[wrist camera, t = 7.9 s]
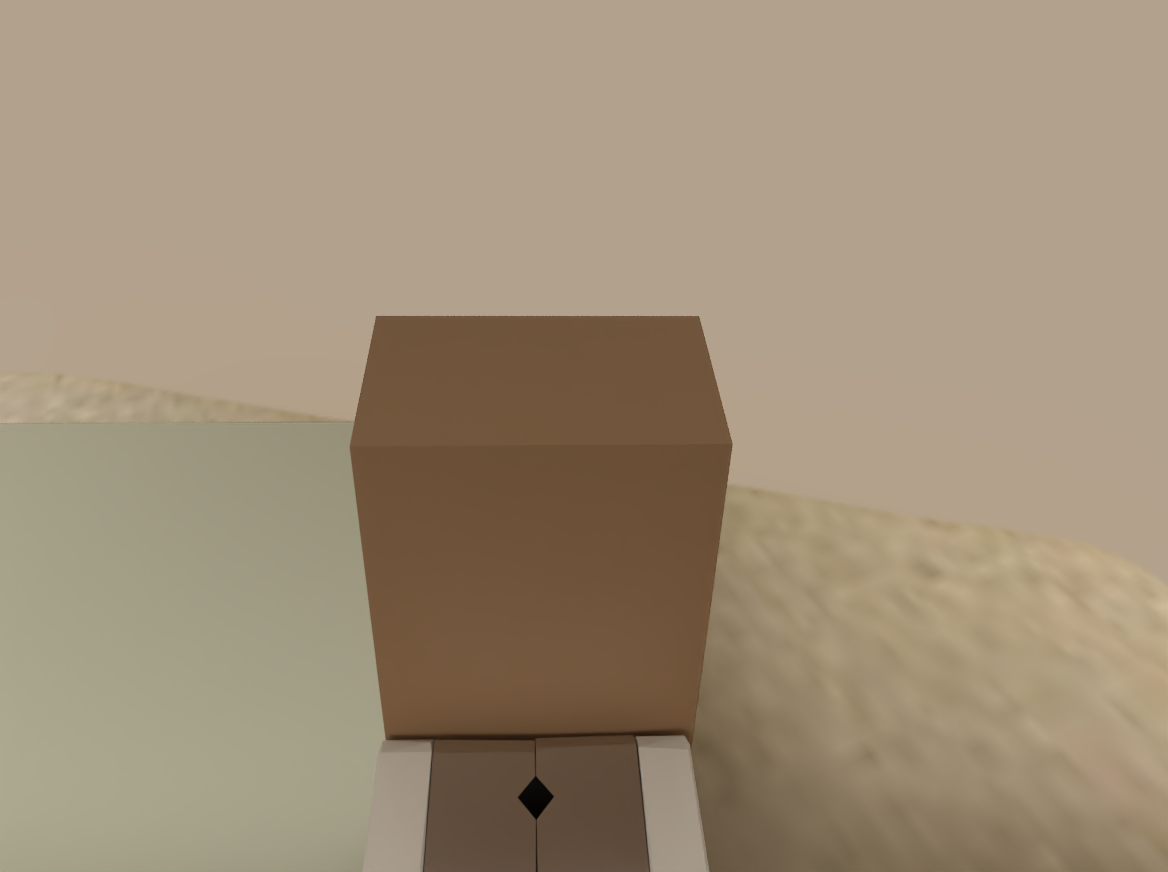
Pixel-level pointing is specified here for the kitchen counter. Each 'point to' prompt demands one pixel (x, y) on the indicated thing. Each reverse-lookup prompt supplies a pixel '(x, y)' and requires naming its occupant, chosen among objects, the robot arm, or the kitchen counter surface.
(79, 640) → the lid
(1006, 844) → the kitchen counter surface
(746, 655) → the kitchen counter surface
